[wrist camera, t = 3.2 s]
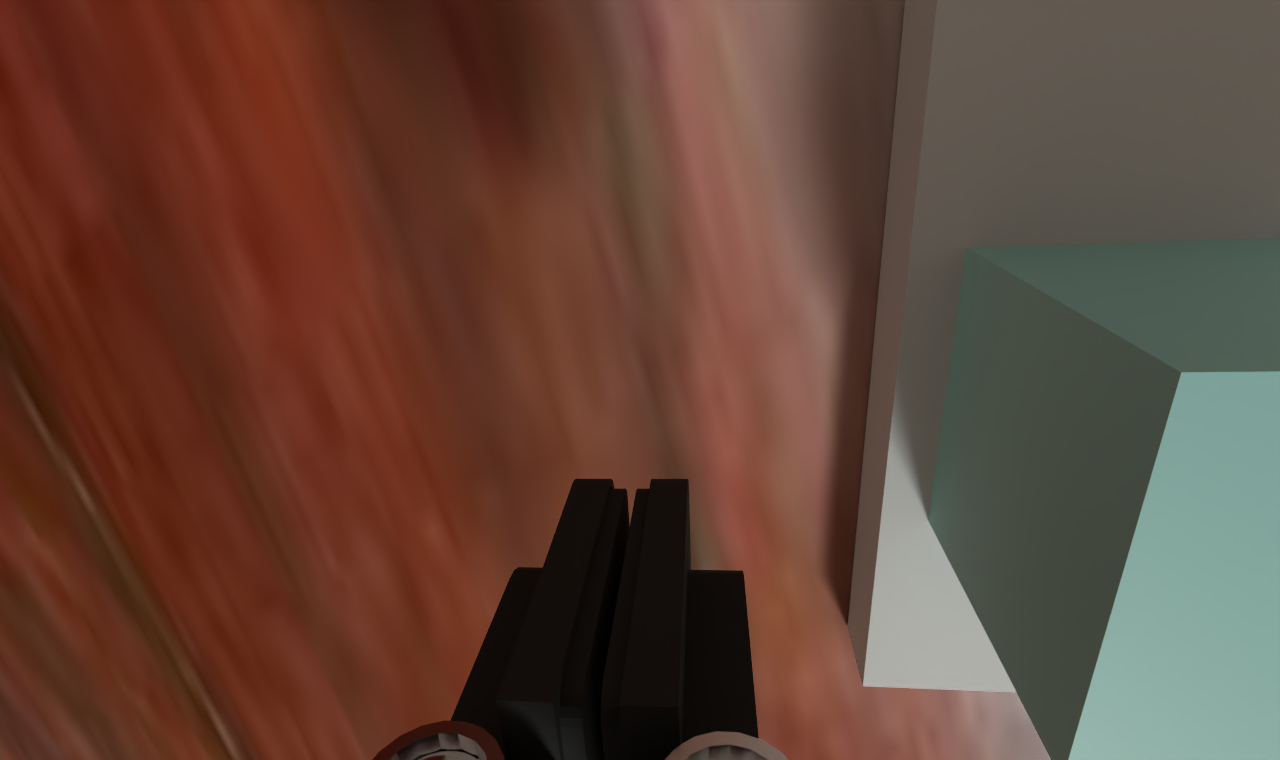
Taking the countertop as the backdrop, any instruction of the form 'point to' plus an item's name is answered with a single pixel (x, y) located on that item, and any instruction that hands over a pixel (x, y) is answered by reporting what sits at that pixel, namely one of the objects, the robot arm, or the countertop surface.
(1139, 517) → the teal block
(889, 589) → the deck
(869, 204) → the countertop surface
